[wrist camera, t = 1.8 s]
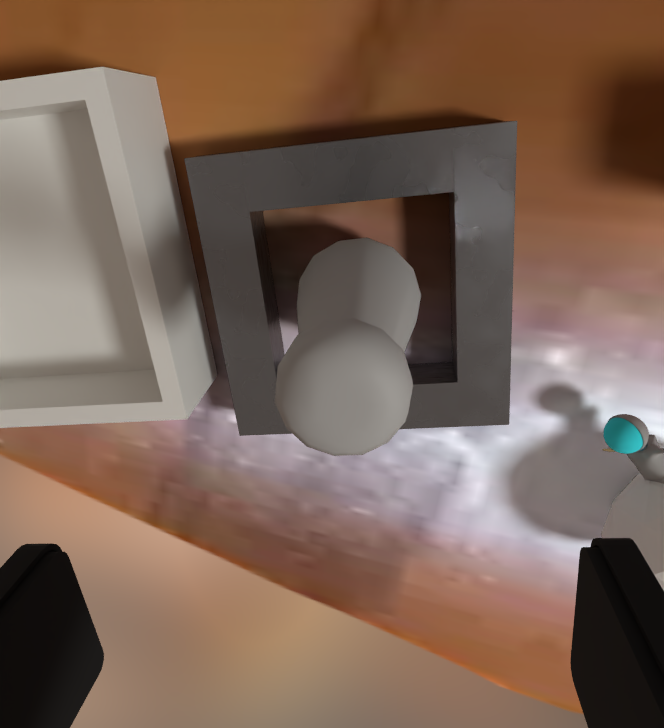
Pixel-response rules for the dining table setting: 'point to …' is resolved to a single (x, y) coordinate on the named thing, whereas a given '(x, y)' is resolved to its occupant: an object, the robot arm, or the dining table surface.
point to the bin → (94, 257)
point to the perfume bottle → (638, 491)
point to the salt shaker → (350, 349)
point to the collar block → (360, 183)
